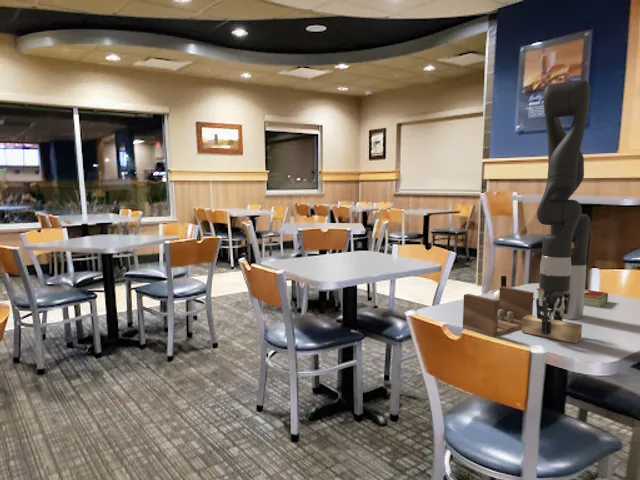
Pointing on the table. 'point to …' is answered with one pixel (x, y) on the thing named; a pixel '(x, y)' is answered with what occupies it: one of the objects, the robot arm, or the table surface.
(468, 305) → the peg rack
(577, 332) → the shelf board
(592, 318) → the table surface
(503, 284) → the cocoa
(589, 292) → the hardcover book
